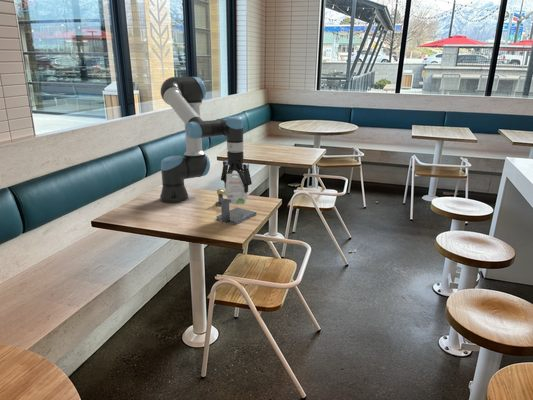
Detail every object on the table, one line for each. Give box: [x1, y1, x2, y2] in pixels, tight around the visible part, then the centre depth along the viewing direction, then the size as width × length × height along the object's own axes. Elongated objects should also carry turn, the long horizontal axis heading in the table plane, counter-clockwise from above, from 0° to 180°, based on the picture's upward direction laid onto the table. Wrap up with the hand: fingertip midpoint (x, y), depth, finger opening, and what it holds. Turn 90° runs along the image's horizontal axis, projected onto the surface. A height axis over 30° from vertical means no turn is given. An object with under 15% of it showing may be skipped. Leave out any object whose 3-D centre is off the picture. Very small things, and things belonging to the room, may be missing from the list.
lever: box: [216, 188, 226, 196], centre depth 209 cm, size 17×4×3 cm, turn 55°
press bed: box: [216, 197, 257, 225], centre depth 195 cm, size 12×18×11 cm
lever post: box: [214, 194, 224, 207], centre depth 214 cm, size 6×6×6 cm
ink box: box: [226, 173, 247, 205], centre depth 192 cm, size 9×5×15 cm, turn 84°
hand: (236, 197), depth 194 cm, fingers closed on ink box, 10 cm apart
